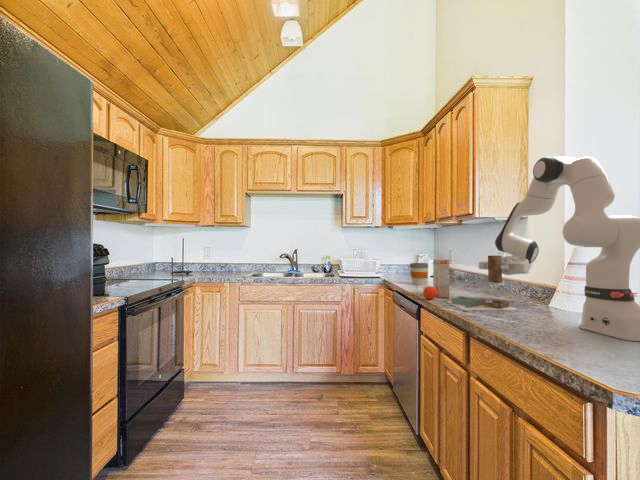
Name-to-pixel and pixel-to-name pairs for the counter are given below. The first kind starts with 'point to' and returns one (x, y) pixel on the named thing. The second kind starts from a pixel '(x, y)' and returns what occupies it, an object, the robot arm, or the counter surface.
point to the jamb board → (478, 305)
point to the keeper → (496, 304)
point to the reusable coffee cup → (419, 273)
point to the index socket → (461, 300)
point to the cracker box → (441, 277)
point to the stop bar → (494, 269)
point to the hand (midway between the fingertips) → (493, 266)
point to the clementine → (430, 292)
